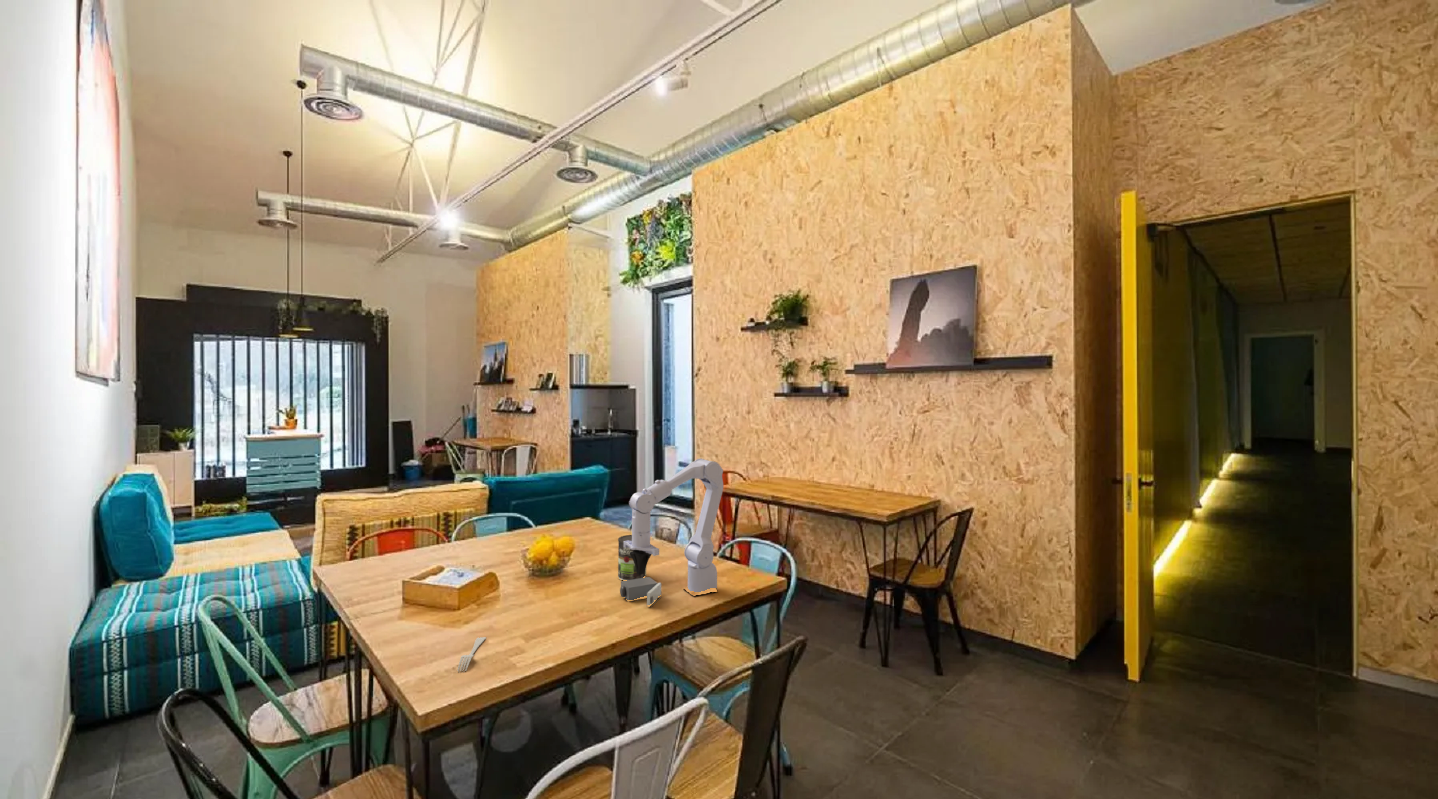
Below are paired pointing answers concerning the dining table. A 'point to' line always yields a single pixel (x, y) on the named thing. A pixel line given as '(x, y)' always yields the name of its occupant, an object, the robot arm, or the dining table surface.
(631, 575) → the coffee can
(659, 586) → the side door
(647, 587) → the camera case
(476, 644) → the fork
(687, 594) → the dining table surface
